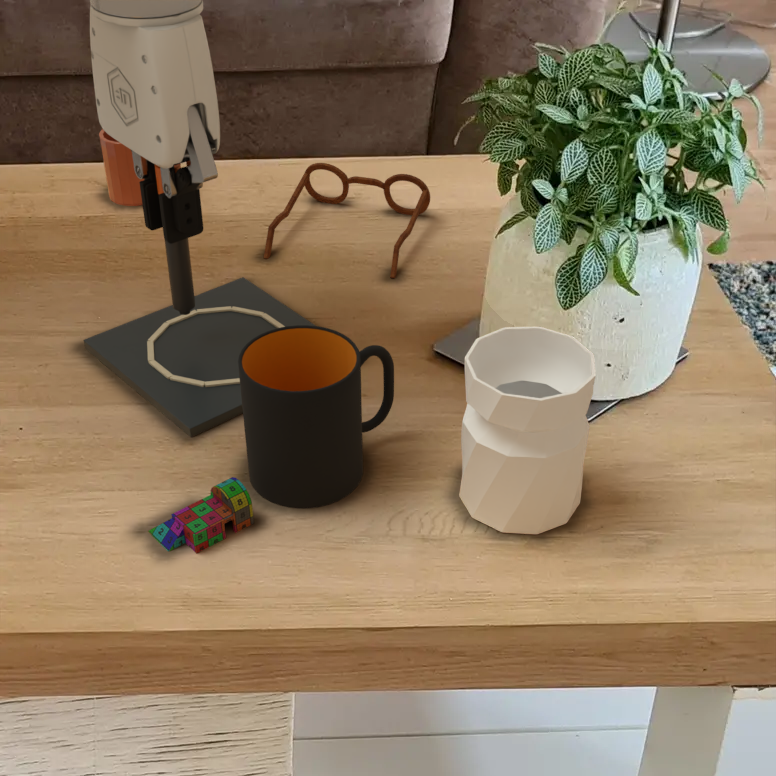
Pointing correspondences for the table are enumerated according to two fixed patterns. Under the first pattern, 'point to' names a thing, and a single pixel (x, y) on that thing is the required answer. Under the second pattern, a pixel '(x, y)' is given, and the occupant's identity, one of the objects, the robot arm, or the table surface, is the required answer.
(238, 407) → the board
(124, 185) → the pen cup
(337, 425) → the mug
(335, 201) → the glasses
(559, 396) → the vase
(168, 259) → the marker
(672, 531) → the table surface
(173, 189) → the robot arm
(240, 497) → the toy block structure
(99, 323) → the table surface
